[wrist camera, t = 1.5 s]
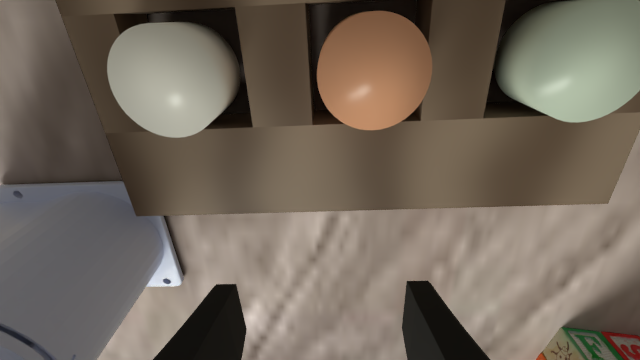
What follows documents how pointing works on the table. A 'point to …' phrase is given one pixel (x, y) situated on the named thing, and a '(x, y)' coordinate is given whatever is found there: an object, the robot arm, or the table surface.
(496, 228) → the table surface
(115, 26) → the panel
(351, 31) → the terracotta button
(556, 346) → the stack of blocks
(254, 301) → the table surface
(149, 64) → the cream button
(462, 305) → the table surface
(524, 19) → the sage button
